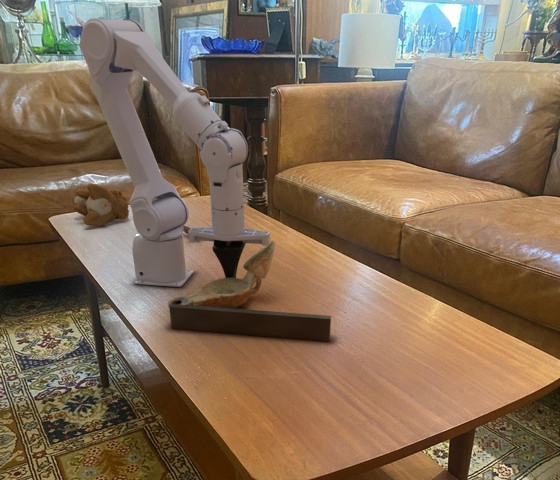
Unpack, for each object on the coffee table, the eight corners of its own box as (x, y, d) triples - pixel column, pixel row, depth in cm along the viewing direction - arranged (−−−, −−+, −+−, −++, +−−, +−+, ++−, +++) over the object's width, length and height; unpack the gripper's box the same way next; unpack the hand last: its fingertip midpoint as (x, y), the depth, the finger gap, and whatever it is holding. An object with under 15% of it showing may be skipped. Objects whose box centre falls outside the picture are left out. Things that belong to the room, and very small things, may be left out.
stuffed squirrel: (82, 224, 135) (65, 222, 145) (136, 228, 144) (116, 226, 154) (81, 182, 132) (64, 182, 142) (136, 188, 141) (116, 188, 151)
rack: (171, 328, 90) (168, 306, 88) (173, 325, 91) (171, 303, 89) (329, 341, 86) (330, 319, 84) (330, 338, 88) (331, 315, 85)
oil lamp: (286, 300, 100) (287, 247, 95) (180, 329, 90) (174, 272, 85) (261, 284, 106) (260, 234, 101) (159, 311, 96) (152, 256, 91)
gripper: (272, 202, 97) (273, 274, 104) (194, 198, 99) (200, 269, 107) (264, 213, 91) (266, 288, 98) (181, 209, 93) (188, 283, 101)
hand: (231, 279), depth 102 cm, fingers closed
